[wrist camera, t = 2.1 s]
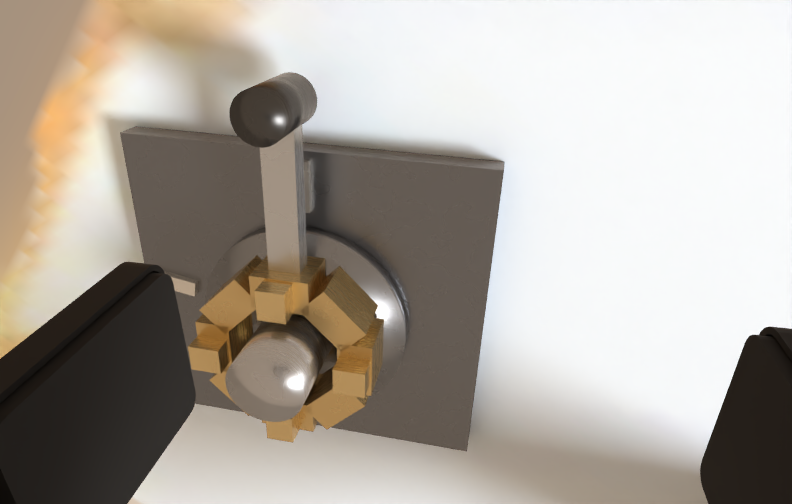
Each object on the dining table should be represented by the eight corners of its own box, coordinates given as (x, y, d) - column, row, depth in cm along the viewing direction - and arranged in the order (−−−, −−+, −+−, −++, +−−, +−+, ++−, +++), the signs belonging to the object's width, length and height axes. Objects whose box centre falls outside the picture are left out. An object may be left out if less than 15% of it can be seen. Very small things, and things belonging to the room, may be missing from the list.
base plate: (468, 435, 40) (456, 543, 32) (180, 385, 43) (109, 473, 36) (504, 161, 30) (499, 223, 23) (135, 126, 34) (27, 170, 26)
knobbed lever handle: (381, 404, 37) (365, 456, 33) (232, 379, 38) (199, 426, 34) (393, 80, 27) (372, 98, 23) (194, 65, 29) (143, 80, 25)
